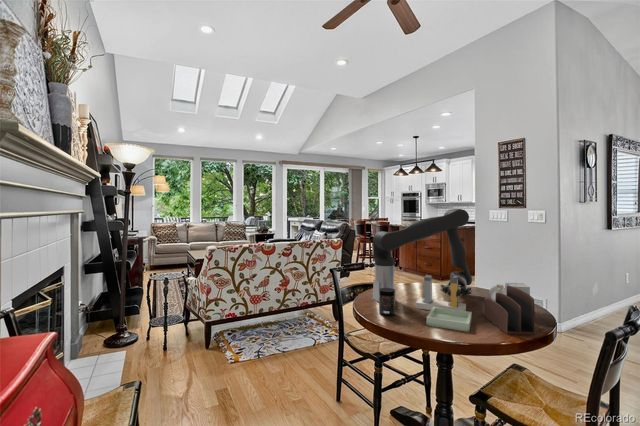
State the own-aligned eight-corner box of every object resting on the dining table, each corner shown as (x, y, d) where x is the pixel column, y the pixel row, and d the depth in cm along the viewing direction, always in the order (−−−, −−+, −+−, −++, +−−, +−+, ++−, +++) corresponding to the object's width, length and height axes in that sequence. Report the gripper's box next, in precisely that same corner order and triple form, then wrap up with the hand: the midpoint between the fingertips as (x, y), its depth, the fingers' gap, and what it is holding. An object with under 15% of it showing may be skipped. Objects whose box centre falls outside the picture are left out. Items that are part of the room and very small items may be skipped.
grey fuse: (424, 308, 150) (424, 277, 149) (426, 305, 154) (426, 275, 154) (429, 309, 148) (430, 277, 148) (431, 306, 153) (431, 275, 153)
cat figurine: (506, 288, 148) (497, 277, 162) (489, 296, 150) (481, 284, 164) (518, 306, 148) (507, 293, 162) (500, 314, 150) (491, 301, 164)
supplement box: (530, 317, 137) (530, 287, 137) (510, 316, 138) (510, 286, 138) (523, 312, 144) (523, 282, 144) (504, 311, 146) (504, 282, 145)
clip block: (416, 308, 150) (416, 300, 150) (419, 303, 157) (419, 296, 157) (464, 314, 141) (464, 307, 141) (466, 309, 148) (466, 302, 147)
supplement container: (394, 311, 145) (394, 288, 145) (395, 317, 138) (395, 292, 138) (378, 311, 146) (378, 287, 146) (379, 316, 139) (379, 291, 139)
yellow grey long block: (450, 311, 144) (450, 279, 144) (451, 308, 149) (451, 277, 149) (456, 312, 143) (456, 280, 143) (457, 309, 148) (457, 277, 147)
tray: (469, 331, 122) (469, 323, 122) (426, 325, 129) (426, 317, 129) (471, 319, 135) (471, 311, 135) (432, 313, 142) (433, 306, 142)
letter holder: (508, 316, 139) (508, 282, 138) (535, 335, 119) (536, 296, 118) (483, 316, 139) (483, 282, 139) (506, 334, 120) (506, 295, 119)
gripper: (442, 276, 162) (436, 283, 146) (473, 278, 155) (471, 287, 140) (442, 291, 162) (436, 300, 147) (473, 294, 156) (471, 304, 140)
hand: (453, 294), depth 143 cm, fingers closed on yellow grey long block, 2 cm apart
